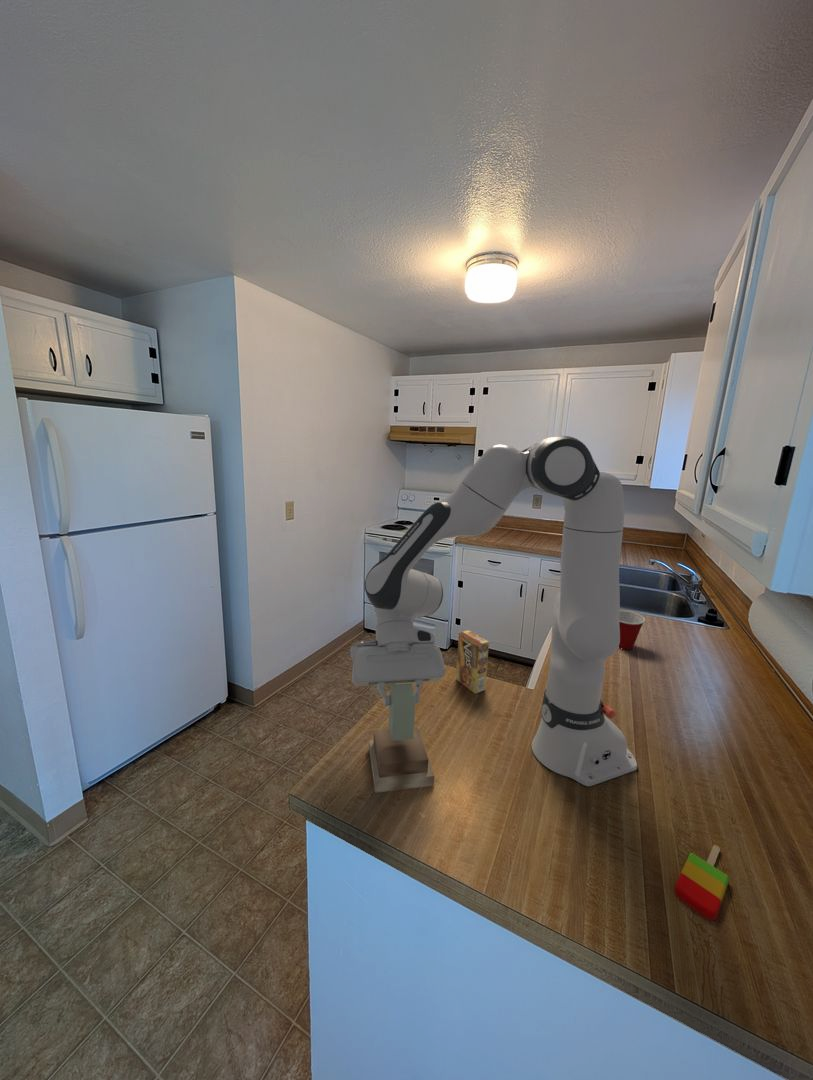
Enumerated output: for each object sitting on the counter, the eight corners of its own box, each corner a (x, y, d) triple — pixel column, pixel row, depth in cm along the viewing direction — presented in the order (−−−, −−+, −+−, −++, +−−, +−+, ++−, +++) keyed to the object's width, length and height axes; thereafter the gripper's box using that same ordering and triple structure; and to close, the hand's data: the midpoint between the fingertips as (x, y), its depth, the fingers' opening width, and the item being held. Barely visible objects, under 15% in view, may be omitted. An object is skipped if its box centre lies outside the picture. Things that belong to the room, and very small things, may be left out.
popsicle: (671, 896, 64) (673, 886, 64) (697, 839, 74) (699, 831, 74) (713, 926, 60) (716, 916, 60) (735, 862, 70) (737, 853, 70)
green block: (408, 724, 89) (411, 683, 87) (413, 738, 84) (415, 695, 82) (388, 726, 88) (390, 684, 86) (391, 740, 84) (393, 697, 81)
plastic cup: (600, 643, 150) (605, 613, 148) (617, 637, 156) (622, 608, 153) (629, 656, 141) (635, 624, 139) (646, 649, 147) (651, 618, 145)
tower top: (416, 738, 93) (417, 727, 92) (427, 772, 83) (428, 759, 83) (373, 743, 91) (373, 731, 90) (379, 777, 81) (379, 764, 81)
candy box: (485, 690, 117) (490, 641, 114) (474, 694, 115) (479, 644, 112) (465, 675, 124) (469, 629, 121) (454, 679, 122) (458, 632, 119)
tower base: (420, 746, 95) (421, 735, 94) (433, 788, 83) (434, 775, 83) (368, 752, 92) (369, 740, 92) (374, 795, 81) (375, 782, 80)
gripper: (350, 637, 88) (352, 705, 80) (441, 633, 92) (451, 697, 85) (348, 646, 93) (350, 711, 86) (435, 642, 97) (444, 703, 90)
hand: (401, 704), depth 85 cm, fingers closed on green block, 4 cm apart
